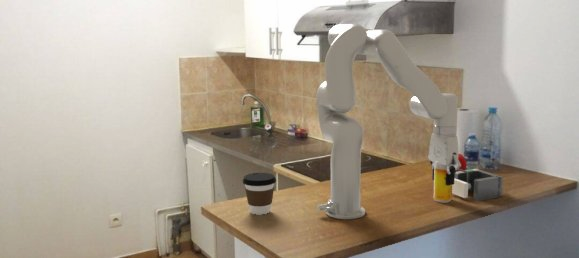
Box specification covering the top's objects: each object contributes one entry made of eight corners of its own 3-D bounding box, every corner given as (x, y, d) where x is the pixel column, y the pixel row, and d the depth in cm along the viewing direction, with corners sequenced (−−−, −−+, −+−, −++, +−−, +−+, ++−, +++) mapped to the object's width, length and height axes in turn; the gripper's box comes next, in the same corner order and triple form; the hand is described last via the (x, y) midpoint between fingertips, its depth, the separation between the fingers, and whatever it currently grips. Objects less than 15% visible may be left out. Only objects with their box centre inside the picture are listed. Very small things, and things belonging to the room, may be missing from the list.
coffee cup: (239, 209, 185) (238, 174, 183) (270, 204, 189) (269, 170, 187) (249, 219, 175) (248, 182, 173) (281, 214, 179) (281, 178, 177)
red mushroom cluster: (465, 184, 209) (466, 158, 207) (446, 182, 211) (447, 157, 209) (466, 177, 217) (467, 152, 215) (447, 176, 219) (448, 151, 218)
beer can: (452, 203, 187) (454, 160, 184) (433, 202, 188) (435, 159, 185) (450, 198, 193) (452, 156, 190) (432, 197, 194) (434, 155, 191)
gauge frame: (477, 201, 189) (478, 180, 188) (453, 191, 200) (454, 171, 198) (501, 196, 194) (502, 175, 192) (476, 187, 204) (477, 168, 203)
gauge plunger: (464, 197, 189) (464, 176, 188) (445, 190, 198) (445, 169, 197) (476, 195, 192) (477, 174, 190) (457, 188, 200) (457, 167, 199)
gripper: (419, 127, 192) (418, 177, 195) (453, 136, 176) (451, 190, 180) (437, 125, 195) (435, 174, 198) (472, 133, 180) (469, 187, 183)
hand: (443, 181), depth 189 cm, fingers closed on beer can, 6 cm apart
